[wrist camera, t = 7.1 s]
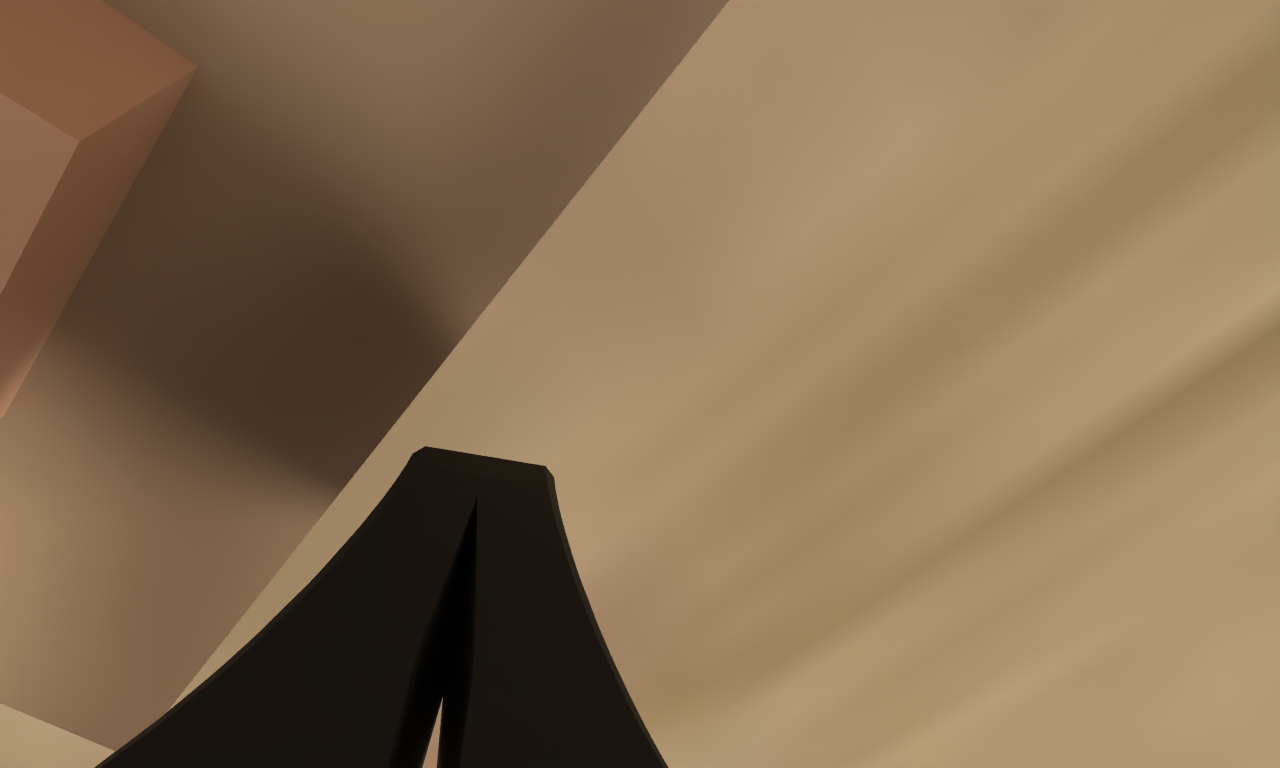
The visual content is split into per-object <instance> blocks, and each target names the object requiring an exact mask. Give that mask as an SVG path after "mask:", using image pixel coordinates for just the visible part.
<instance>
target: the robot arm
mask: <svg viewBox="0 0 1280 768" xmlns="http://www.w3.org/2000/svg"><path fill="white" fill-rule="evenodd" d="M442 697H443V702H442V714H441V726H440V737H439V749H438V761H437V768H668V766H667V765H666V763H665V761H664V759H663V758H662V756H661V754H660V752H659V751H658V749H657V747H656V745H655V744H654V742H653V740H652V738H651V736H650V734H649V732H648V730H647V729H646V727H645V725H644V723H643V721H642V719H641V717H640V715H639V713H638V711H637V709H636V707H635V705H634V703H633V701H632V699H631V697H630V695H629V693H628V691H627V689H626V687H625V685H624V682H623V680H622V678H621V676H620V674H619V672H618V670H617V667H616V665H615V663H614V661H613V659H612V657H611V655H610V652H609V650H608V648H607V645H606V643H605V641H604V638H603V636H602V634H601V631H600V629H599V627H598V624H597V621H596V619H595V616H594V614H593V611H592V608H591V606H590V603H589V600H588V598H587V595H586V593H585V590H584V587H583V585H582V582H581V580H580V577H579V574H578V571H577V568H576V565H575V562H574V559H573V556H572V553H571V549H570V546H569V543H568V539H567V536H566V533H565V529H564V526H563V522H562V518H561V514H560V510H559V505H558V501H557V495H556V490H555V482H554V477H553V475H552V474H551V473H550V471H549V470H548V469H547V467H546V466H541V465H535V464H529V463H523V462H517V461H511V460H505V459H499V458H493V457H487V456H481V455H475V454H469V453H463V452H457V451H451V450H445V449H439V448H433V447H427V446H425V447H423V448H422V449H420V450H418V451H416V452H415V453H413V454H412V456H411V457H410V459H409V461H408V463H407V464H406V466H405V468H404V469H403V471H402V472H401V474H400V475H399V477H398V478H397V479H396V481H395V482H394V484H393V485H392V487H391V488H390V489H389V491H388V492H387V493H386V495H385V496H384V497H383V499H382V500H381V501H380V502H379V504H378V505H377V506H376V507H375V509H374V510H373V511H372V512H371V514H370V515H369V516H368V517H367V519H366V520H365V521H364V522H363V524H362V525H361V526H360V527H359V528H358V529H357V531H356V532H355V533H354V534H353V535H352V536H351V537H350V538H349V540H348V541H347V542H346V543H345V544H344V545H343V546H342V547H341V549H340V550H339V551H338V552H337V553H336V554H335V555H334V556H333V558H332V559H331V560H330V561H329V562H328V563H327V564H326V565H325V567H324V568H323V569H322V570H321V571H320V572H319V573H318V574H317V575H316V576H315V577H314V578H313V580H312V581H311V582H310V583H309V584H308V585H307V586H306V587H305V588H304V589H303V590H302V591H301V592H300V593H299V594H298V595H297V596H296V597H294V598H293V599H292V600H291V601H290V602H289V603H288V604H287V605H286V606H285V607H284V608H283V609H282V610H281V611H280V612H279V613H278V614H277V615H276V616H275V617H274V618H273V619H272V620H271V621H270V622H269V623H268V624H267V625H266V626H265V627H264V628H263V629H262V630H261V631H260V632H259V633H258V634H257V635H256V636H255V637H254V638H253V639H252V640H250V641H249V642H248V643H247V644H246V645H245V646H244V647H243V648H242V649H241V650H239V651H238V652H237V653H236V654H235V655H234V656H233V657H232V658H231V659H229V660H228V661H227V662H226V663H225V664H224V665H223V666H222V667H220V668H219V669H218V670H217V671H216V672H215V673H213V674H212V675H211V676H210V677H209V678H208V679H207V680H205V681H204V682H203V683H202V684H201V685H199V686H198V687H197V688H196V689H195V690H193V691H192V692H191V693H190V694H188V695H187V696H186V697H185V698H184V699H182V700H181V701H180V702H179V703H178V704H176V705H175V706H174V707H173V708H172V709H170V710H169V711H168V712H167V713H165V714H164V715H163V716H162V717H160V718H159V719H158V720H157V721H155V722H154V723H153V724H151V725H150V726H149V727H147V728H146V729H145V730H143V731H142V732H141V733H139V734H138V735H137V736H135V737H134V738H133V739H131V740H130V741H129V742H128V743H126V744H125V745H124V746H122V747H121V748H120V749H118V750H117V751H116V752H114V753H113V754H112V755H110V756H109V757H108V758H106V759H105V760H104V761H102V762H101V763H100V764H99V765H97V766H96V767H95V768H422V767H423V763H424V760H425V756H426V753H427V749H428V746H429V742H430V739H431V736H432V732H433V729H434V725H435V722H436V718H437V715H438V711H439V708H440V704H441V701H442Z"/></svg>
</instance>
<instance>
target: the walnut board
mask: <svg viewBox="0 0 1280 768" xmlns="http://www.w3.org/2000/svg"><path fill="white" fill-rule="evenodd" d="M102 1H104V2H105V3H106V4H108V5H109V6H111V7H112V8H114V9H115V10H117V11H118V12H120V13H121V14H123V15H124V16H126V17H127V18H129V19H130V20H131V21H133V22H134V23H136V24H137V25H139V26H140V27H142V28H143V29H145V30H146V31H148V32H149V33H151V34H152V35H154V36H155V37H157V38H158V39H159V40H161V41H162V42H164V43H165V44H167V45H168V46H170V47H171V48H173V49H174V50H176V51H177V52H179V53H180V54H182V55H183V56H184V57H186V58H187V59H189V60H190V61H192V62H193V63H195V64H196V65H198V68H197V70H196V71H195V73H194V75H193V77H192V79H191V80H190V82H189V84H188V86H187V88H186V89H185V91H184V93H183V95H182V97H181V98H180V100H179V102H178V104H177V105H176V107H175V109H174V111H173V113H172V114H171V116H170V118H169V120H168V122H167V123H166V125H165V127H164V129H163V131H162V132H161V134H160V136H159V138H158V140H157V141H156V143H155V145H154V147H153V149H152V150H151V152H150V154H149V156H148V158H147V159H146V161H145V163H144V165H143V167H142V168H141V170H140V172H139V174H138V176H137V177H136V179H135V181H134V183H133V185H132V186H131V188H130V190H129V192H128V194H127V195H126V197H125V199H124V201H123V203H122V204H121V206H120V208H119V210H118V212H117V213H116V215H115V217H114V219H113V221H112V222H111V224H110V226H109V228H108V230H107V231H106V233H105V235H104V237H103V239H102V240H101V242H100V244H99V246H98V248H97V249H96V251H95V253H94V255H93V257H92V258H91V260H90V262H89V264H88V265H87V267H86V269H85V271H84V273H83V274H82V276H81V278H80V280H79V282H78V283H77V285H76V287H75V289H74V291H73V292H72V294H71V296H70V298H69V300H68V301H67V303H66V305H65V307H64V309H63V310H62V312H61V314H60V316H59V318H58V319H57V321H56V323H55V325H54V327H53V328H52V330H51V332H50V334H49V336H48V337H47V339H46V341H45V343H44V345H43V346H42V348H41V350H40V352H39V354H38V355H37V357H36V359H35V361H34V363H33V364H32V366H31V368H30V370H29V372H28V373H27V375H26V377H25V379H24V381H23V382H22V384H21V386H20V388H19V390H18V391H17V393H16V395H15V397H14V399H13V400H12V402H11V404H10V406H9V408H8V409H7V411H6V413H5V415H4V416H3V417H2V418H1V419H0V703H1V704H4V705H6V706H8V707H11V708H13V709H16V710H18V711H20V712H23V713H25V714H28V715H30V716H32V717H35V718H37V719H40V720H42V721H45V722H47V723H49V724H52V725H54V726H57V727H59V728H61V729H64V730H66V731H69V732H71V733H73V734H76V735H78V736H81V737H83V738H85V739H88V740H90V741H93V742H95V743H97V744H100V745H102V746H105V747H107V748H109V749H112V750H114V751H117V750H118V749H120V748H121V747H122V746H124V745H125V744H126V743H128V742H129V741H130V740H131V739H133V738H134V737H135V736H137V735H138V734H139V733H141V732H142V731H143V730H145V729H146V728H147V727H149V726H150V725H151V724H153V723H154V722H155V721H157V720H158V719H159V718H160V717H162V716H163V715H164V714H165V713H166V712H167V711H168V710H169V709H170V707H171V706H172V705H173V703H174V702H175V701H176V700H177V698H178V697H179V696H180V695H181V693H182V692H183V691H184V690H185V688H186V687H187V686H188V684H189V683H190V682H191V681H192V679H193V678H194V677H195V676H196V674H197V673H198V672H199V671H200V669H201V668H202V667H203V665H204V664H205V663H206V662H207V660H208V659H209V658H210V657H211V655H212V654H213V653H214V652H215V650H216V649H217V648H218V647H219V645H220V644H221V643H222V641H223V640H224V639H225V638H226V636H227V635H228V634H229V633H230V631H231V630H232V629H233V628H234V626H235V625H236V624H237V622H238V621H239V620H240V619H241V617H242V616H243V615H244V614H245V612H246V611H247V610H248V609H249V607H250V606H251V605H252V603H253V602H254V601H255V600H256V598H257V597H258V596H259V595H260V593H261V592H262V591H263V590H264V588H265V587H266V586H267V585H268V583H269V582H270V581H271V579H272V578H273V577H274V576H275V574H276V573H277V572H278V571H279V569H280V568H281V567H282V566H283V564H284V563H285V562H286V560H287V559H288V558H289V557H290V555H291V554H292V553H293V552H294V550H295V549H296V548H297V547H298V545H299V544H300V543H301V541H302V540H303V539H304V538H305V536H306V535H307V534H308V533H309V531H310V530H311V529H312V528H313V526H314V525H315V524H316V522H317V521H318V520H319V519H320V517H321V516H322V515H323V514H324V512H325V511H326V510H327V509H328V507H329V506H330V505H331V504H332V502H333V501H334V500H335V498H336V497H337V496H338V495H339V493H340V492H341V491H342V490H343V488H344V487H345V486H346V485H347V483H348V482H349V481H350V479H351V478H352V477H353V476H354V474H355V473H356V472H357V471H358V469H359V468H360V467H361V466H362V464H363V463H364V462H365V460H366V459H367V458H368V457H369V455H370V454H371V453H372V452H373V450H374V449H375V448H376V447H377V445H378V444H379V443H380V442H381V440H382V439H383V438H384V436H385V435H386V434H387V433H388V431H389V430H390V429H391V428H392V426H393V425H394V424H395V423H396V421H397V420H398V419H399V417H400V416H401V415H402V414H403V412H404V411H405V410H406V409H407V407H408V406H409V405H410V404H411V402H412V401H413V400H414V398H415V397H416V396H417V395H418V393H419V392H420V391H421V390H422V388H423V387H424V386H425V385H426V383H427V382H428V381H429V380H430V378H431V377H432V376H433V374H434V373H435V372H436V371H437V369H438V368H439V367H440V366H441V364H442V363H443V362H444V361H445V359H446V358H447V357H448V355H449V354H450V353H451V352H452V350H453V349H454V348H455V347H456V345H457V344H458V343H459V342H460V340H461V339H462V338H463V336H464V335H465V334H466V333H467V331H468V330H469V329H470V328H471V326H472V325H473V324H474V323H475V321H476V320H477V319H478V317H479V316H480V315H481V314H482V312H483V311H484V310H485V309H486V307H487V306H488V305H489V304H490V302H491V301H492V300H493V299H494V297H495V296H496V295H497V293H498V292H499V291H500V290H501V288H502V287H503V286H504V285H505V283H506V282H507V281H508V280H509V278H510V277H511V276H512V274H513V273H514V272H515V271H516V269H517V268H518V267H519V266H520V264H521V263H522V262H523V261H524V259H525V258H526V257H527V255H528V254H529V253H530V252H531V250H532V249H533V248H534V247H535V245H536V244H537V243H538V242H539V240H540V239H541V238H542V237H543V235H544V234H545V233H546V231H547V230H548V229H549V228H550V226H551V225H552V224H553V223H554V221H555V220H556V219H557V218H558V216H559V215H560V214H561V212H562V211H563V210H564V209H565V207H566V206H567V205H568V204H569V202H570V201H571V200H572V199H573V197H574V196H575V195H576V193H577V192H578V191H579V190H580V188H581V187H582V186H583V185H584V183H585V182H586V181H587V180H588V178H589V177H590V176H591V175H592V173H593V172H594V171H595V169H596V168H597V167H598V166H599V164H600V163H601V162H602V161H603V159H604V158H605V157H606V156H607V154H608V153H609V152H610V150H611V149H612V148H613V147H614V145H615V144H616V143H617V142H618V140H619V139H620V138H621V137H622V135H623V134H624V133H625V131H626V130H627V129H628V128H629V126H630V125H631V124H632V123H633V121H634V120H635V119H636V118H637V116H638V115H639V114H640V112H641V111H642V110H643V109H644V107H645V106H646V105H647V104H648V102H649V101H650V100H651V99H652V97H653V96H654V95H655V94H656V92H657V91H658V90H659V88H660V87H661V86H662V85H663V83H664V82H665V81H666V80H667V78H668V77H669V76H670V75H671V73H672V72H673V71H674V69H675V68H676V67H677V66H678V64H679V63H680V62H681V61H682V59H683V58H684V57H685V56H686V54H687V53H688V52H689V50H690V49H691V48H692V47H693V45H694V44H695V43H696V42H697V40H698V39H699V38H700V37H701V35H702V34H703V33H704V32H705V30H706V29H707V28H708V26H709V25H710V24H711V23H712V21H713V20H714V19H715V18H716V16H717V15H718V14H719V13H720V11H721V10H722V9H723V7H724V6H725V5H726V4H727V2H728V1H729V0H102Z"/></svg>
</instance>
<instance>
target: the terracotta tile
mask: <svg viewBox="0 0 1280 768" xmlns="http://www.w3.org/2000/svg"><path fill="white" fill-rule="evenodd" d="M197 68H198V65H196V64H195V63H193V62H192V61H190V60H189V59H187V58H186V57H184V56H183V55H182V54H180V53H179V52H177V51H176V50H174V49H173V48H171V47H170V46H168V45H167V44H165V43H164V42H162V41H161V40H159V39H158V38H157V37H155V36H154V35H152V34H151V33H149V32H148V31H146V30H145V29H143V28H142V27H140V26H139V25H137V24H136V23H134V22H133V21H131V20H130V19H129V18H127V17H126V16H124V15H123V14H121V13H120V12H118V11H117V10H115V9H114V8H112V7H111V6H109V5H108V4H106V3H105V2H104V1H102V0H0V419H1V418H2V417H3V416H4V415H5V413H6V411H7V409H8V408H9V406H10V404H11V402H12V400H13V399H14V397H15V395H16V393H17V391H18V390H19V388H20V386H21V384H22V382H23V381H24V379H25V377H26V375H27V373H28V372H29V370H30V368H31V366H32V364H33V363H34V361H35V359H36V357H37V355H38V354H39V352H40V350H41V348H42V346H43V345H44V343H45V341H46V339H47V337H48V336H49V334H50V332H51V330H52V328H53V327H54V325H55V323H56V321H57V319H58V318H59V316H60V314H61V312H62V310H63V309H64V307H65V305H66V303H67V301H68V300H69V298H70V296H71V294H72V292H73V291H74V289H75V287H76V285H77V283H78V282H79V280H80V278H81V276H82V274H83V273H84V271H85V269H86V267H87V265H88V264H89V262H90V260H91V258H92V257H93V255H94V253H95V251H96V249H97V248H98V246H99V244H100V242H101V240H102V239H103V237H104V235H105V233H106V231H107V230H108V228H109V226H110V224H111V222H112V221H113V219H114V217H115V215H116V213H117V212H118V210H119V208H120V206H121V204H122V203H123V201H124V199H125V197H126V195H127V194H128V192H129V190H130V188H131V186H132V185H133V183H134V181H135V179H136V177H137V176H138V174H139V172H140V170H141V168H142V167H143V165H144V163H145V161H146V159H147V158H148V156H149V154H150V152H151V150H152V149H153V147H154V145H155V143H156V141H157V140H158V138H159V136H160V134H161V132H162V131H163V129H164V127H165V125H166V123H167V122H168V120H169V118H170V116H171V114H172V113H173V111H174V109H175V107H176V105H177V104H178V102H179V100H180V98H181V97H182V95H183V93H184V91H185V89H186V88H187V86H188V84H189V82H190V80H191V79H192V77H193V75H194V73H195V71H196V70H197Z"/></svg>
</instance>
